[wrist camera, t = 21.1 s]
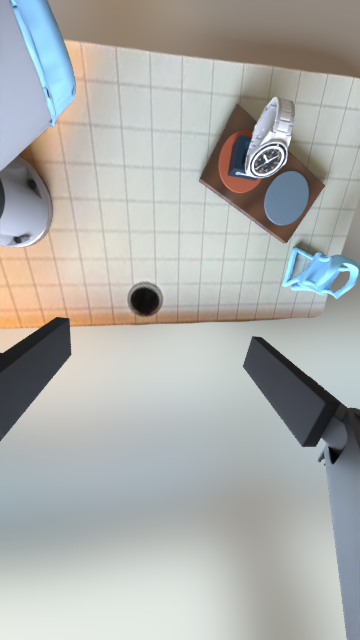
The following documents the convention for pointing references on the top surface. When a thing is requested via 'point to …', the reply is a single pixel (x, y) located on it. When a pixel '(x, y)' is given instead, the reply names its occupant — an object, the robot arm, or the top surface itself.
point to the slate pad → (286, 198)
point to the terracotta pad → (224, 160)
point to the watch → (264, 143)
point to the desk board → (254, 199)
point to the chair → (321, 273)
